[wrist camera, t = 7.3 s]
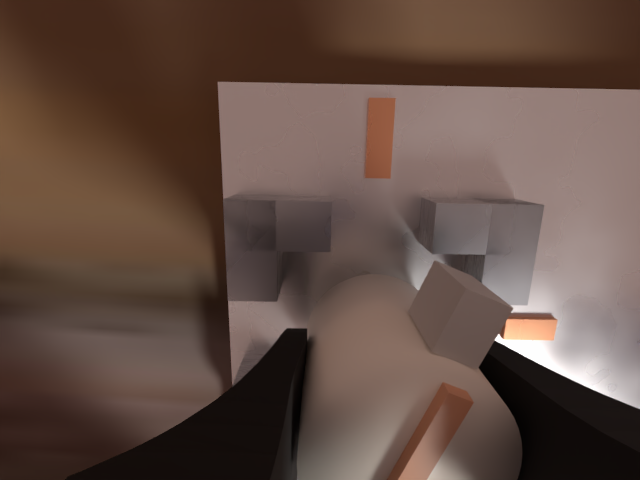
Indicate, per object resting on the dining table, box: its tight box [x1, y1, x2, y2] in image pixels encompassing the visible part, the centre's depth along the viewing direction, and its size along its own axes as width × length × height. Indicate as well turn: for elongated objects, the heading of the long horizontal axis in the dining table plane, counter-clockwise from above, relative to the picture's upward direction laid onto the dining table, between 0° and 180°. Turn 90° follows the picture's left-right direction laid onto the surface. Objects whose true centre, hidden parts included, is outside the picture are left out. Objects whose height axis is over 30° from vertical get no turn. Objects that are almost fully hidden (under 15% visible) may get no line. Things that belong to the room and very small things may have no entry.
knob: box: [297, 260, 522, 480], centre depth 9 cm, size 6×4×5 cm
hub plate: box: [218, 82, 640, 480], centre depth 12 cm, size 16×18×2 cm
